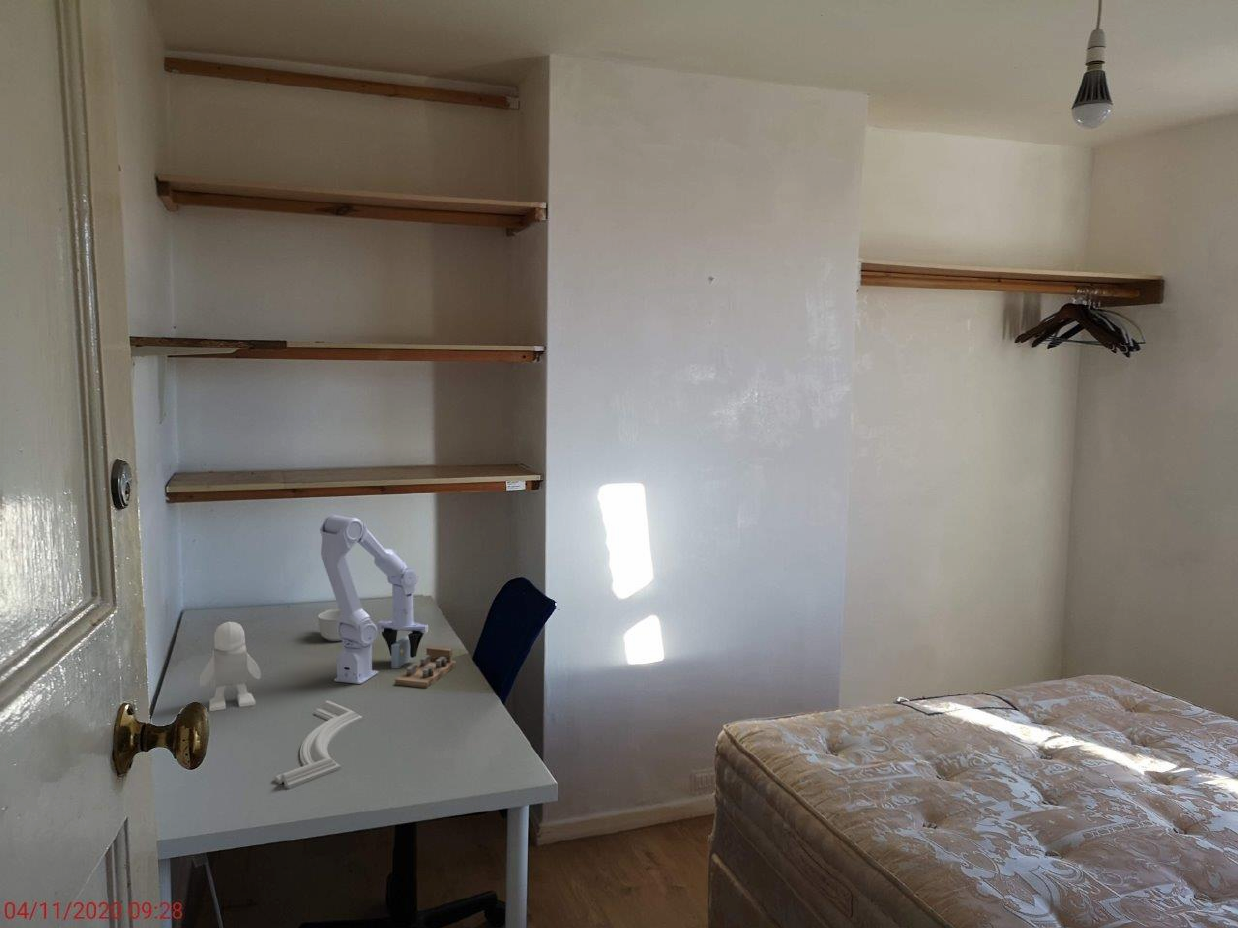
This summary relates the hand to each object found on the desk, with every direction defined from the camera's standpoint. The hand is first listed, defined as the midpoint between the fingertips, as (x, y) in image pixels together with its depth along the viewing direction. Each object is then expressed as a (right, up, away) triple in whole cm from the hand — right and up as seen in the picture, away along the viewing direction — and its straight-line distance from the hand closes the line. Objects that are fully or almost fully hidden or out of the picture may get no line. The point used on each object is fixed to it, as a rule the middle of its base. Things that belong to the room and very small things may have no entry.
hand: (403, 655), depth 247 cm
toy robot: (-34, -5, -31) cm, 47 cm away
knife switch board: (+9, -3, -10) cm, 14 cm away
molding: (-6, -8, -55) cm, 56 cm away
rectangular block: (0, -2, 0) cm, 2 cm away
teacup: (-26, 0, +23) cm, 35 cm away
